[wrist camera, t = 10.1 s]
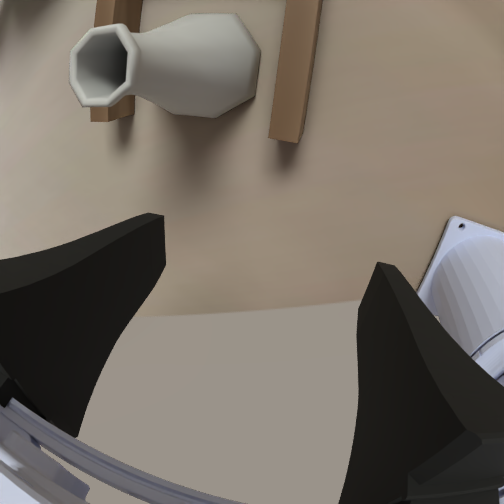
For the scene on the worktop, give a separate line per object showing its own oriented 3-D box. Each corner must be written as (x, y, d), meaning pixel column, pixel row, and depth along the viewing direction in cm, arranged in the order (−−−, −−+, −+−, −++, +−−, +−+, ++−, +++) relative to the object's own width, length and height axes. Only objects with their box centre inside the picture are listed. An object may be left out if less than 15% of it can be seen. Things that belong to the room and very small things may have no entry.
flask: (249, -2, 14) (170, -61, 6) (273, 107, 17) (215, 138, 9) (144, 32, 16) (26, 29, 8) (167, 129, 19) (60, 179, 11)
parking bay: (329, -59, 11) (327, -79, 8) (302, 133, 18) (297, 143, 15) (133, -50, 12) (108, -59, 10) (117, 113, 19) (90, 121, 17)
